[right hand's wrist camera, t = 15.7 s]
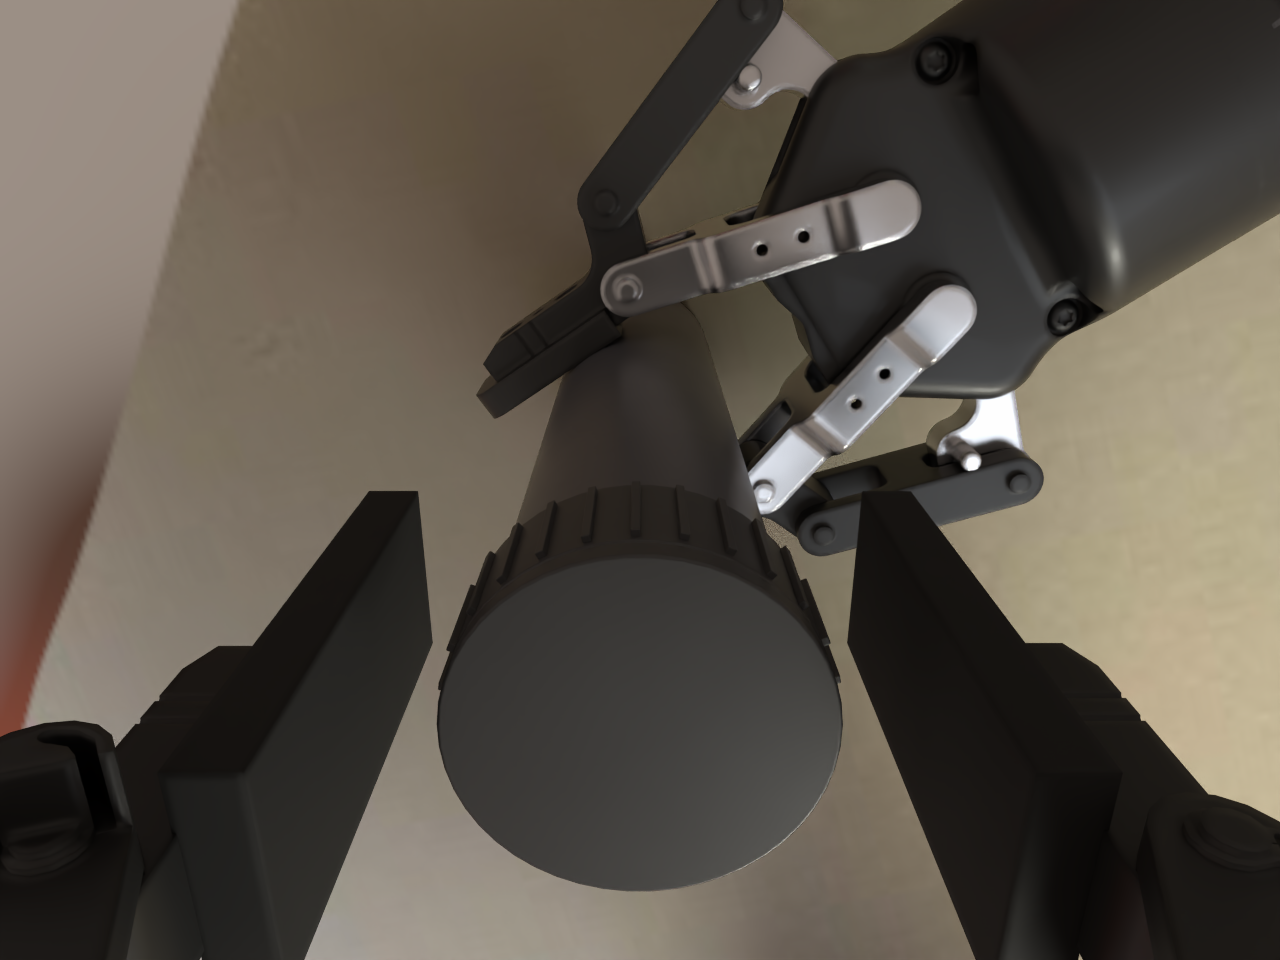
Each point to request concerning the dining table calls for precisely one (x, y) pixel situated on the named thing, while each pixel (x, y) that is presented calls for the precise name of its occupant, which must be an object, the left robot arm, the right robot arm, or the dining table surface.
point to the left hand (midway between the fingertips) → (551, 474)
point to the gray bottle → (643, 420)
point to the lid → (639, 691)
